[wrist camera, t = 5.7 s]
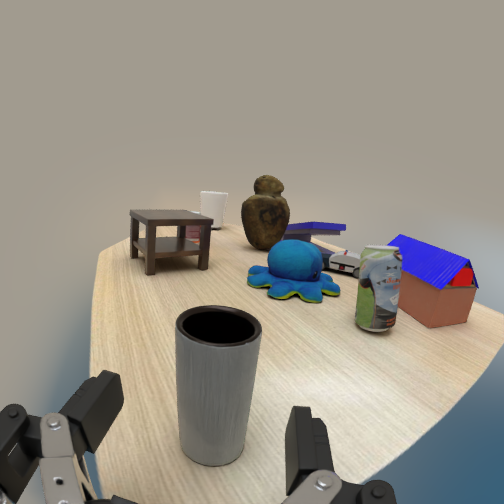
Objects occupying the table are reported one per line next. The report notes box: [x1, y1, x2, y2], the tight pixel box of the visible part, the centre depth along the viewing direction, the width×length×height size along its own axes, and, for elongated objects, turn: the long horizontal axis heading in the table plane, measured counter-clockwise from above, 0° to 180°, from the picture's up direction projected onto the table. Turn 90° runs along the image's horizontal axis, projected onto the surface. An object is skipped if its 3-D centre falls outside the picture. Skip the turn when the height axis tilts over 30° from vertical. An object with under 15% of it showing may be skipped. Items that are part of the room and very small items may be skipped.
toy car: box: [321, 250, 361, 278], centre depth 65 cm, size 5×16×5 cm, turn 66°
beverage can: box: [355, 245, 402, 332], centre depth 37 cm, size 6×7×12 cm
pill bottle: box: [185, 211, 201, 244], centre depth 76 cm, size 5×5×8 cm
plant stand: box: [130, 210, 214, 275], centre depth 56 cm, size 13×13×10 cm
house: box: [386, 234, 479, 328], centre depth 48 cm, size 12×20×12 cm, turn 11°
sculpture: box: [241, 175, 290, 250], centre depth 77 cm, size 13×8×20 cm, turn 101°
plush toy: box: [247, 240, 340, 303], centre depth 53 cm, size 17×17×8 cm
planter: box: [175, 305, 262, 466], centre depth 16 cm, size 4×4×10 cm
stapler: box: [279, 222, 346, 254], centre depth 86 cm, size 12×28×10 cm, turn 21°
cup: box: [200, 191, 228, 230], centre depth 101 cm, size 10×10×13 cm
